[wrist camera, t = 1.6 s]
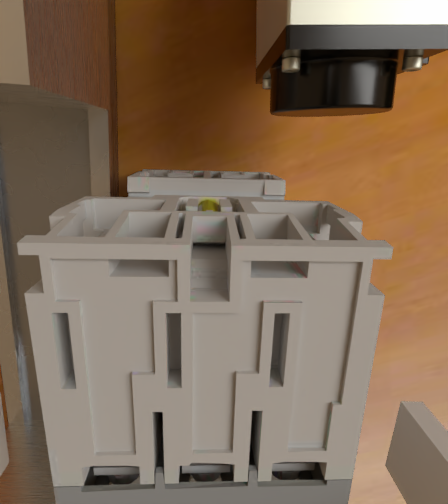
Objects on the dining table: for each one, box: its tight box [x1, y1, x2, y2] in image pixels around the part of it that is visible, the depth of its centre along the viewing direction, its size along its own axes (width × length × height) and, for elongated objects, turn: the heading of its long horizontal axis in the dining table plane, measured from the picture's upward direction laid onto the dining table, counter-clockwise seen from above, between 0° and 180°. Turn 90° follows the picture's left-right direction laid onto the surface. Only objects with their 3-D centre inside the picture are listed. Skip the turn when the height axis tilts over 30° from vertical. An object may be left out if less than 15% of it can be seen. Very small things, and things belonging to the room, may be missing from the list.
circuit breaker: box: [17, 169, 393, 504], centre depth 16 cm, size 8×14×15 cm, turn 178°
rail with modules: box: [0, 0, 119, 504], centre depth 18 cm, size 32×7×11 cm, turn 176°
